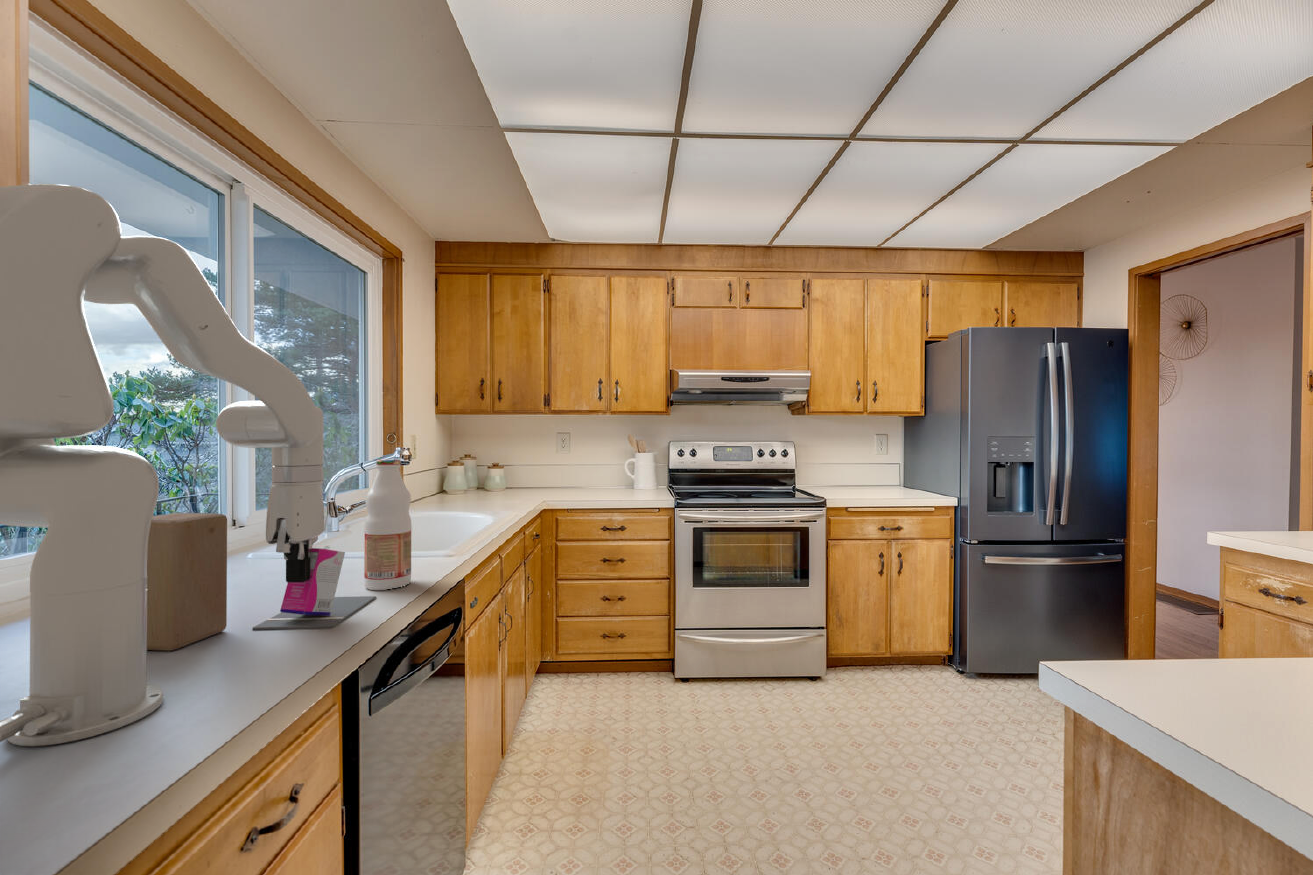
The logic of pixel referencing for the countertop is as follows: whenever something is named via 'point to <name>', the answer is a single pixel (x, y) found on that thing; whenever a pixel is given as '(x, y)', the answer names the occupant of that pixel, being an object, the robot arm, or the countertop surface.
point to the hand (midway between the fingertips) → (298, 580)
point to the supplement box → (315, 585)
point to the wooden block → (186, 579)
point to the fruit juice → (387, 530)
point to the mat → (339, 612)
